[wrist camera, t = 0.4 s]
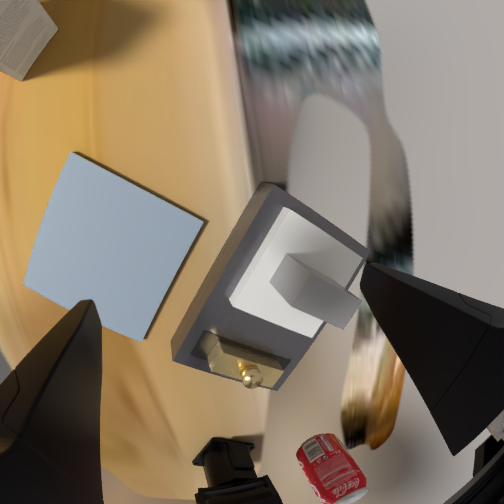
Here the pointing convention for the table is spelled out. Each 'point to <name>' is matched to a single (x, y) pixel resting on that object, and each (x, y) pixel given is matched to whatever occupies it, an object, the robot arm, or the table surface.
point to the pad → (108, 246)
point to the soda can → (331, 470)
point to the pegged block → (244, 365)
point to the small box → (22, 35)
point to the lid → (299, 278)
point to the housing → (227, 278)
